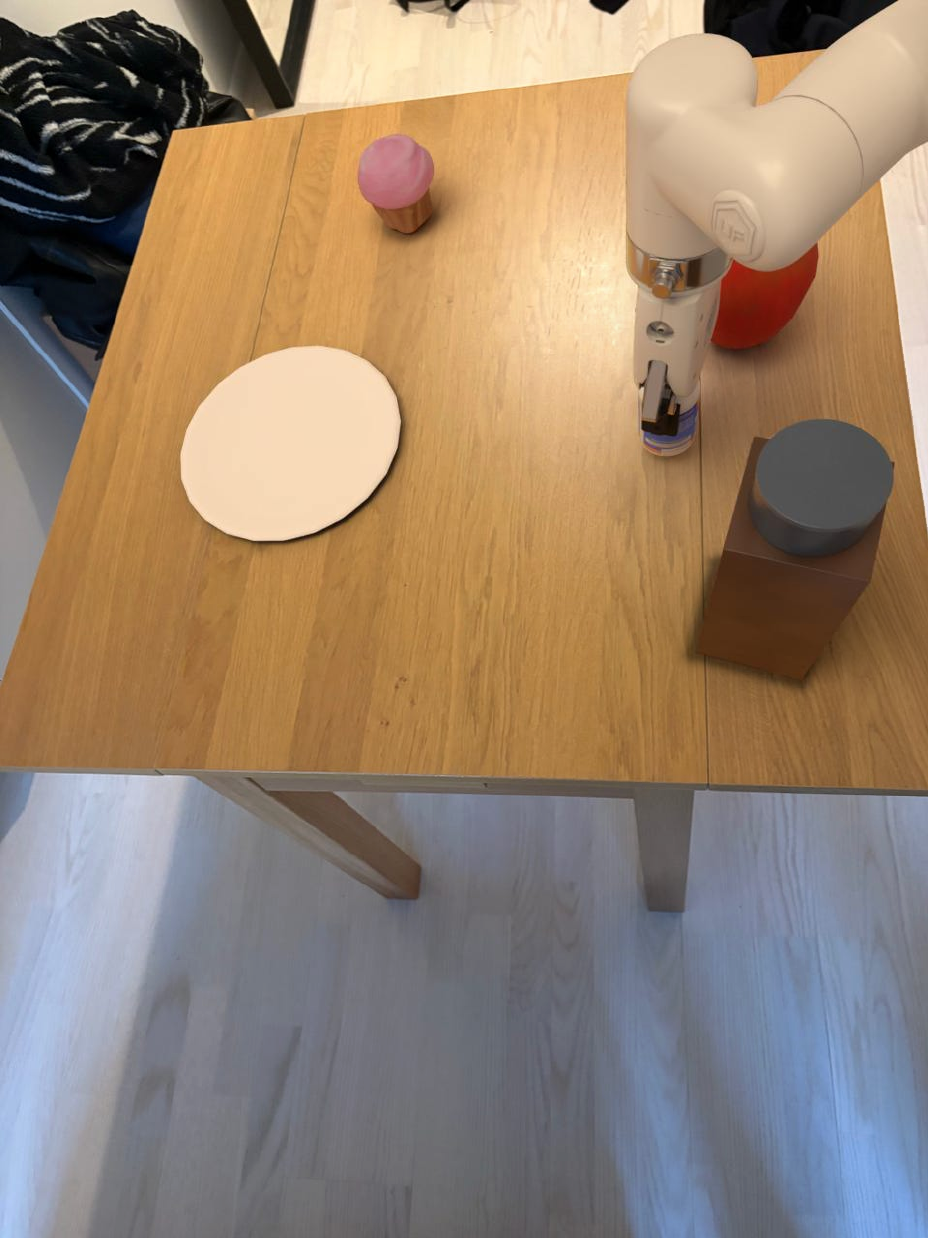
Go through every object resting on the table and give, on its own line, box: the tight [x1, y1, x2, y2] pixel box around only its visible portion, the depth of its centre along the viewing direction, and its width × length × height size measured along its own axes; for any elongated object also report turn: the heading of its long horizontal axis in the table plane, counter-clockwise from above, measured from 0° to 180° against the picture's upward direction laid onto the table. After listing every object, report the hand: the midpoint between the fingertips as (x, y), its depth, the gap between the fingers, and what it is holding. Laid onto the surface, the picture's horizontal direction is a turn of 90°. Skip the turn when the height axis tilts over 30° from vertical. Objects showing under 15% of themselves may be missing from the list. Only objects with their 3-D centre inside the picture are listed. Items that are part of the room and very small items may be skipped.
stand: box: [694, 435, 896, 681], centre depth 61 cm, size 9×9×20 cm
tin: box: [748, 418, 895, 557], centre depth 50 cm, size 8×8×4 cm
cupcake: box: [357, 133, 435, 234], centre depth 92 cm, size 9×9×10 cm
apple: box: [710, 241, 820, 349], centre depth 75 cm, size 12×12×14 cm
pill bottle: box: [637, 378, 701, 457], centre depth 72 cm, size 5×5×10 cm
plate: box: [179, 345, 402, 542], centre depth 86 cm, size 25×25×1 cm
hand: (668, 402), depth 72 cm, fingers closed on pill bottle, 5 cm apart
